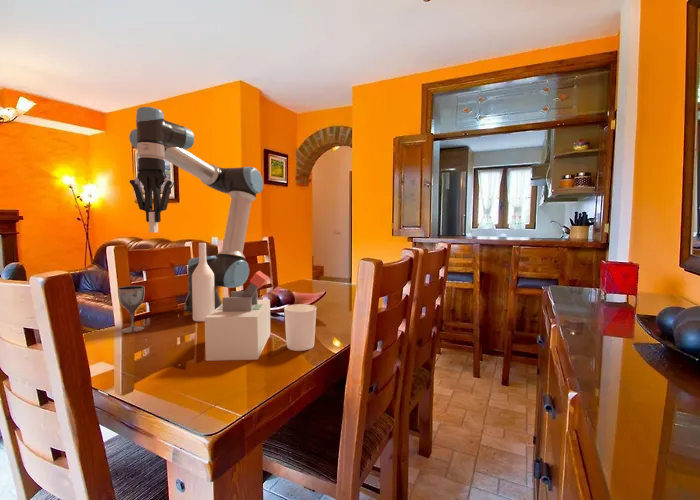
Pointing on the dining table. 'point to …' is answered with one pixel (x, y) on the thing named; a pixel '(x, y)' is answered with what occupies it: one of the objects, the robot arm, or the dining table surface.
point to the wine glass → (131, 303)
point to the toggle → (255, 284)
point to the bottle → (202, 287)
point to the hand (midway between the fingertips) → (153, 232)
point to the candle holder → (300, 326)
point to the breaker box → (237, 328)
